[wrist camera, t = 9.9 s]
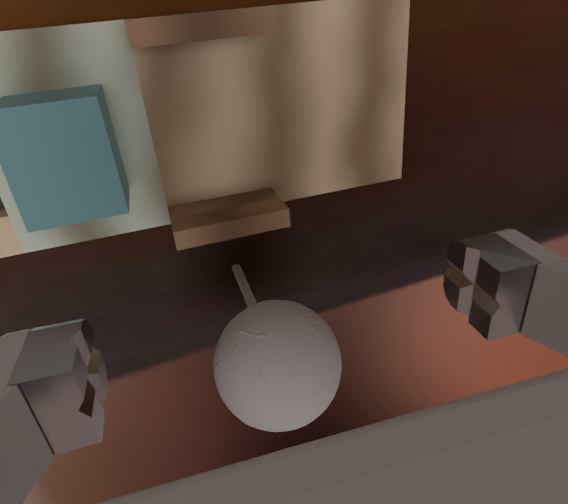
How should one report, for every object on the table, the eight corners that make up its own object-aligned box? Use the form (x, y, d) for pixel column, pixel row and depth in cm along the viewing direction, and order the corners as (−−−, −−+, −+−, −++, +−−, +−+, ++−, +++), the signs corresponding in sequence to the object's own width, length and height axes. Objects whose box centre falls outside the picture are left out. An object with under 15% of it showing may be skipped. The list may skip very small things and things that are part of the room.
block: (101, 83, 24) (96, 95, 21) (129, 186, 27) (129, 213, 24) (2, 96, 23) (-22, 111, 20) (42, 201, 26) (27, 232, 22)
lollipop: (223, 320, 36) (273, 481, 24) (169, 261, 33) (196, 415, 20) (294, 271, 36) (383, 407, 24) (249, 206, 33) (326, 327, 20)
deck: (393, -7, 29) (450, -12, 24) (388, 170, 35) (432, 196, 30) (-265, 56, 21) (-389, 69, 16) (-130, 270, 27) (-189, 328, 22)
